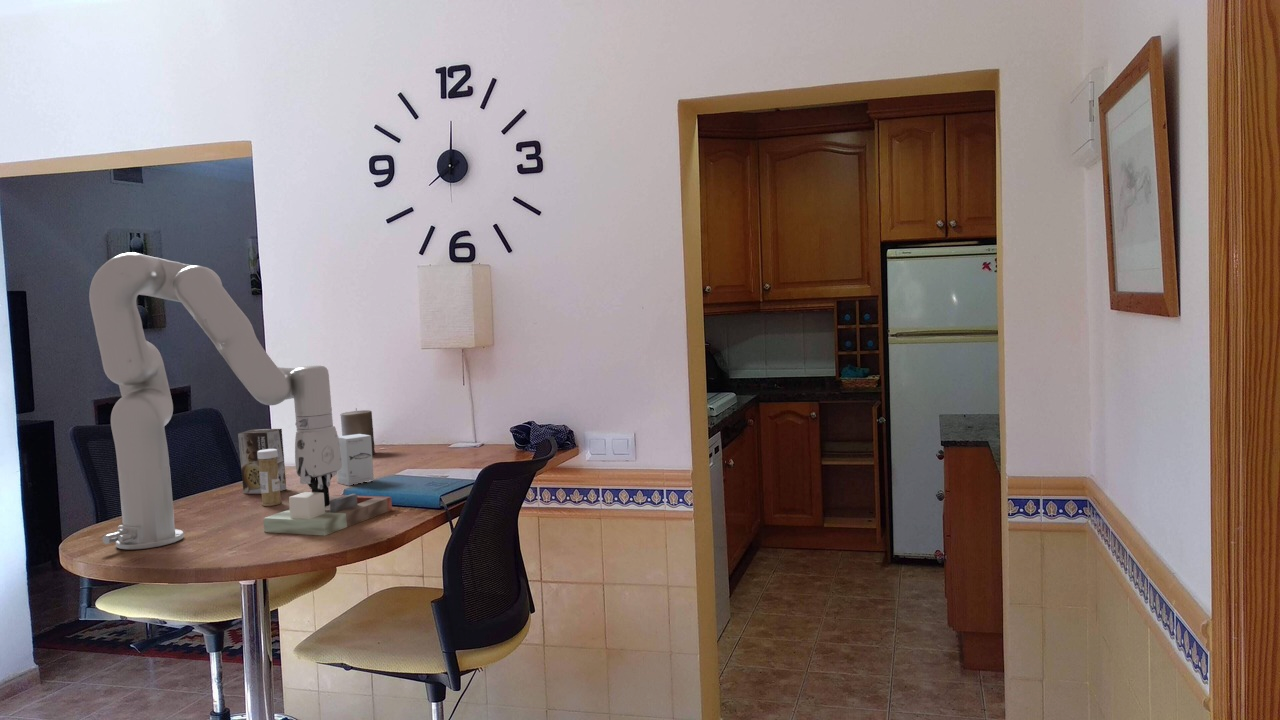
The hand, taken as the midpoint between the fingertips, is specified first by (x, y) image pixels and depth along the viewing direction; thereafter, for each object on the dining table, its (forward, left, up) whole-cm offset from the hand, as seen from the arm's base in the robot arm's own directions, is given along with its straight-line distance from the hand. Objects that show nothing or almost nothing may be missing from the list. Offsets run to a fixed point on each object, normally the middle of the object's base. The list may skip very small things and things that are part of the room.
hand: (321, 505), depth 206 cm
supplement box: (+41, +23, -4) cm, 48 cm away
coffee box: (+27, +41, -4) cm, 50 cm away
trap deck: (+3, 0, -4) cm, 5 cm away
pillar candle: (+80, +52, -4) cm, 96 cm away
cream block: (-5, 0, -1) cm, 5 cm away
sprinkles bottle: (+14, +27, -4) cm, 31 cm away
